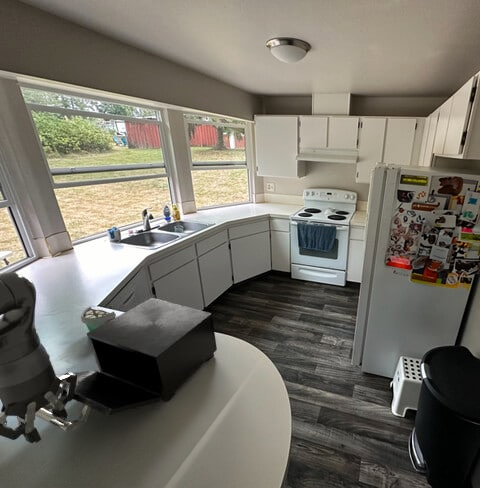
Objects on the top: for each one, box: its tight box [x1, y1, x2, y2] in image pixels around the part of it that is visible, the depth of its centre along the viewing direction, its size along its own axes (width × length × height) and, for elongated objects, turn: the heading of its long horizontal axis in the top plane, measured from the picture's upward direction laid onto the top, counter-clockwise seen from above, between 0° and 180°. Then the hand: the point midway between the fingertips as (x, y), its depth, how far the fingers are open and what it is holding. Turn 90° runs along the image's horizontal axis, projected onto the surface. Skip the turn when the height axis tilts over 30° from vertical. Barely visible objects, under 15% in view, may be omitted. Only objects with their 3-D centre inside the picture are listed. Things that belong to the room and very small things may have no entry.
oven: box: [86, 297, 218, 402], centre depth 79 cm, size 20×26×17 cm
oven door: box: [35, 370, 162, 433], centre depth 62 cm, size 6×26×16 cm
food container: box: [80, 306, 117, 332], centre depth 92 cm, size 12×6×10 cm, turn 76°
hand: (49, 430), depth 55 cm, fingers open, 3 cm apart
